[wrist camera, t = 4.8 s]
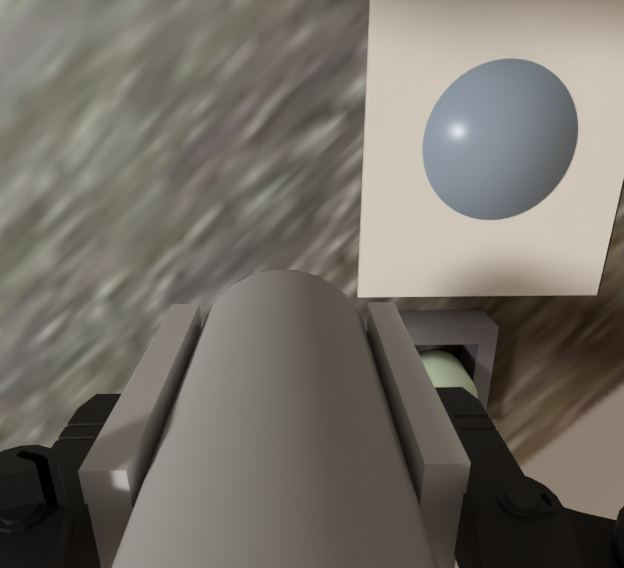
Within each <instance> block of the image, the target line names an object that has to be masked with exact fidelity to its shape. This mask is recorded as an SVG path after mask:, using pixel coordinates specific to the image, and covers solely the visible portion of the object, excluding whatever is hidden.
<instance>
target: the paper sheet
mask: <svg viewBox="0 0 624 568" xmlns="http://www.w3.org/2000/svg"><path fill="white" fill-rule="evenodd" d="M623 179H624V0H370V2H369V26H368V50H367V74H366V98H365V122H364V146H363V170H362V194H361V218H360V242H359V266H358V290H357V296H358V297H446V296H554V295H597V293H598V288H599V284H600V280H601V275H602V271H603V266H604V262H605V258H606V253H607V249H608V245H609V240H610V236H611V232H612V227H613V223H614V218H615V214H616V210H617V205H618V201H619V197H620V192H621V188H622V184H623Z"/></svg>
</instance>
